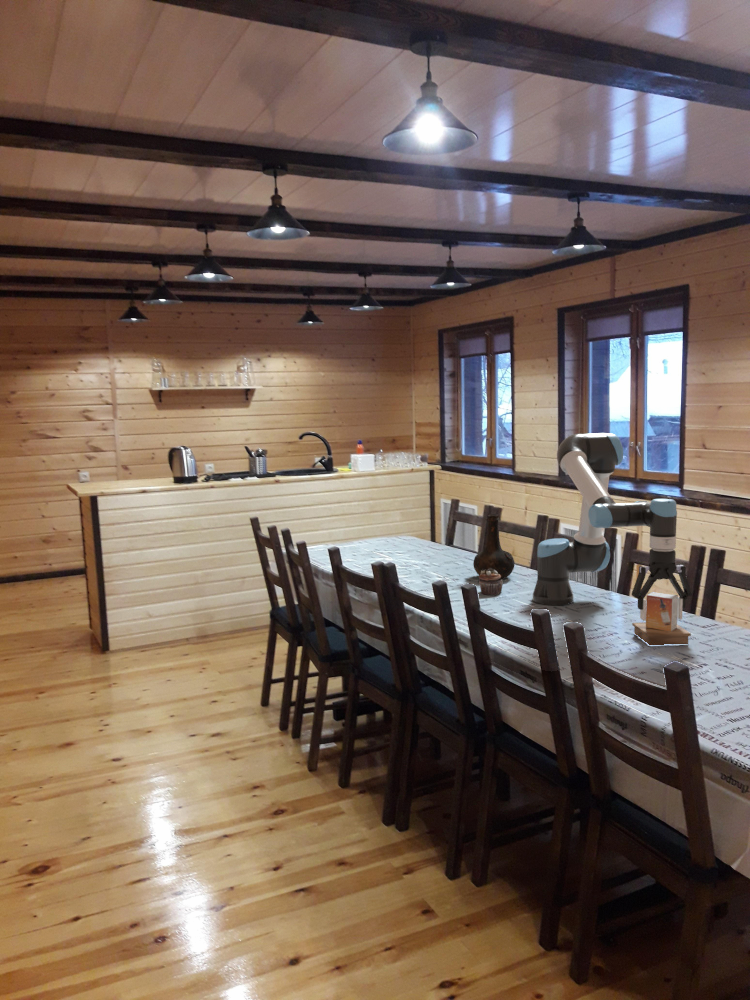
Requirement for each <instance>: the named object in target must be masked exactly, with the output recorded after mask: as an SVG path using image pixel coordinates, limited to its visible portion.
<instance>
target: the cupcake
mask: <svg viewBox="0 0 750 1000" xmlns="http://www.w3.org/2000/svg"><path fill="white" fill-rule="evenodd" d="M478 578H479V579H478V582H479V588H480V593H481V594H482V595H484V596H498V594H499V595H501V594H502V589H503V585H504V579H500V578H501V575H500V574H498V572H497V571H495V569H493V570H492V568H489V569H482V571H481V574H480V575H478Z"/></svg>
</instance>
